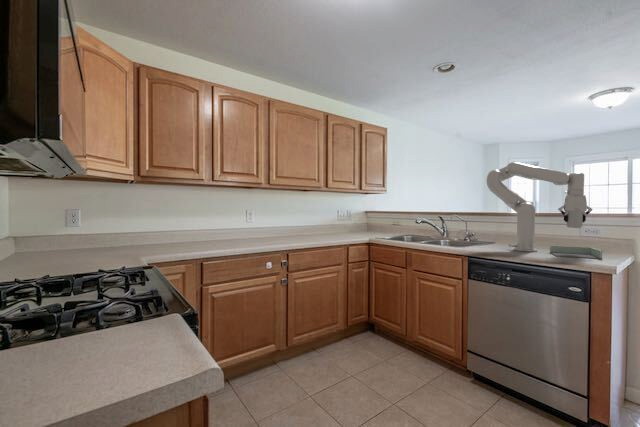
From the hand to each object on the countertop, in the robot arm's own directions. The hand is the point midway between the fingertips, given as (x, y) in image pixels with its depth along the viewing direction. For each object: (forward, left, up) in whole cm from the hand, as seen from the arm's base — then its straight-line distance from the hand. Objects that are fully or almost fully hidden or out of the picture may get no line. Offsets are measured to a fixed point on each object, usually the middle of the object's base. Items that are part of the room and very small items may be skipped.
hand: (574, 221), depth 181 cm
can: (0, 0, -4) cm, 4 cm away
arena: (-2, -11, -20) cm, 22 cm away
